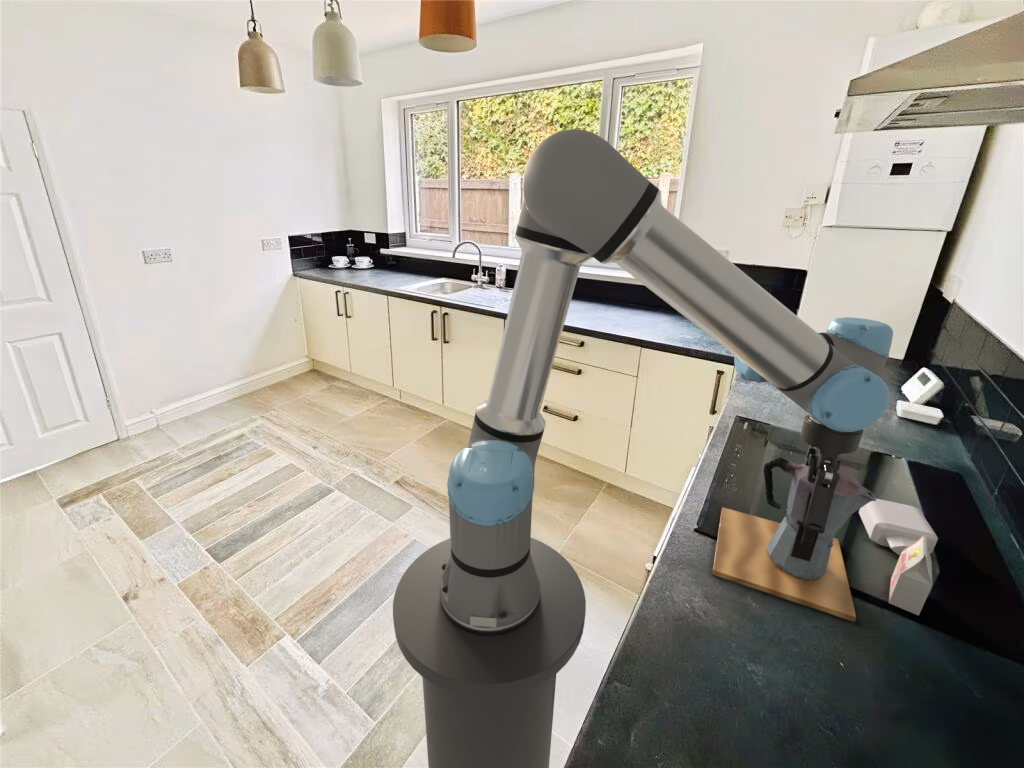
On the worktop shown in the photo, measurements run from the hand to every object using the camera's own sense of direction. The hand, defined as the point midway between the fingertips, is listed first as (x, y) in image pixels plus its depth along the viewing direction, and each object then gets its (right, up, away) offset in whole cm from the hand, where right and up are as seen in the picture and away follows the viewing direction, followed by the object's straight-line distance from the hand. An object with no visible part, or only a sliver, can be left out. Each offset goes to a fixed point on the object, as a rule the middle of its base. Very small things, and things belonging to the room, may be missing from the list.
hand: (798, 541), depth 78 cm
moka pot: (0, -4, +2) cm, 4 cm away
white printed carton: (+14, -8, -4) cm, 17 cm away
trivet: (-2, -4, +4) cm, 6 cm away
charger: (+23, -3, +8) cm, 25 cm away
